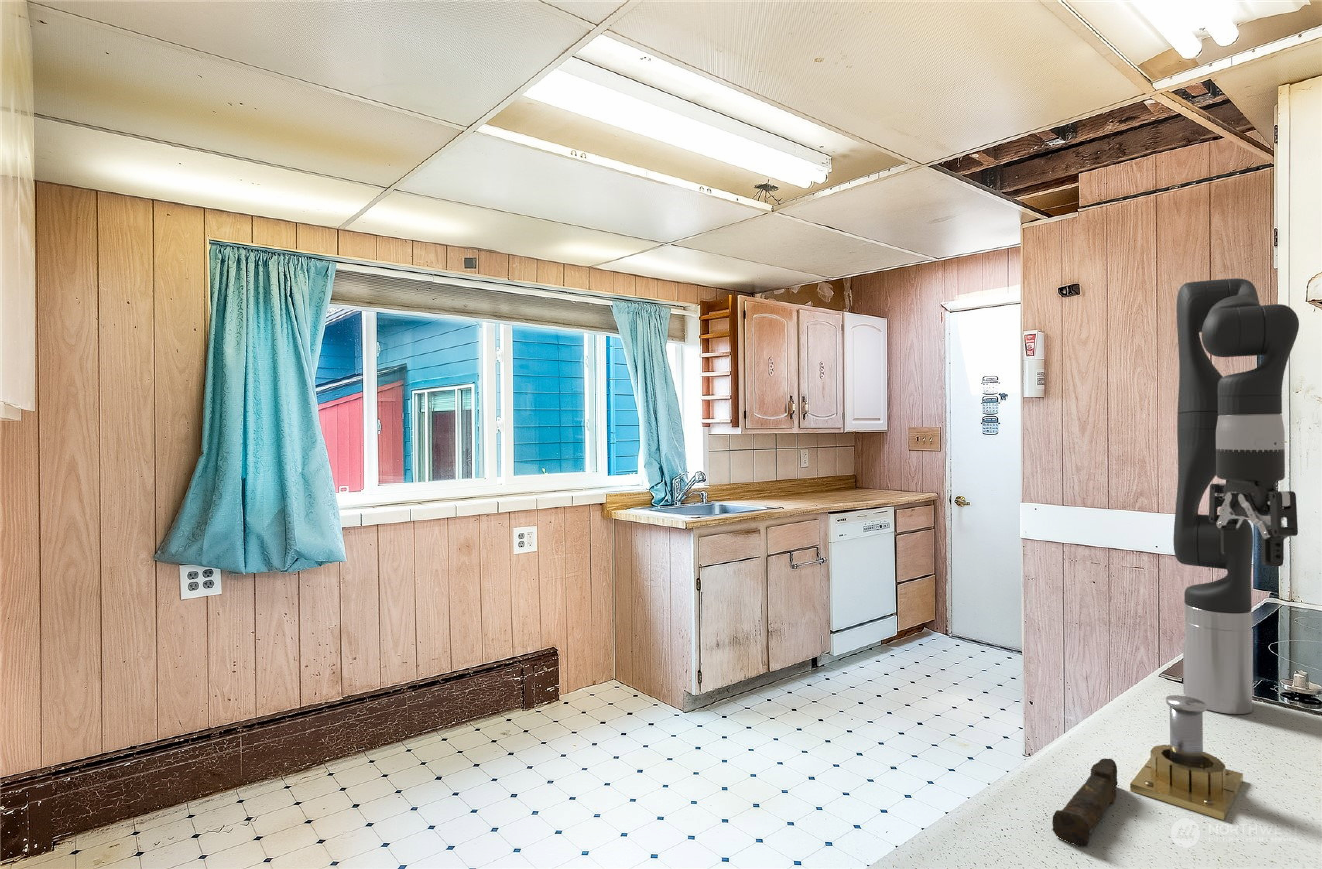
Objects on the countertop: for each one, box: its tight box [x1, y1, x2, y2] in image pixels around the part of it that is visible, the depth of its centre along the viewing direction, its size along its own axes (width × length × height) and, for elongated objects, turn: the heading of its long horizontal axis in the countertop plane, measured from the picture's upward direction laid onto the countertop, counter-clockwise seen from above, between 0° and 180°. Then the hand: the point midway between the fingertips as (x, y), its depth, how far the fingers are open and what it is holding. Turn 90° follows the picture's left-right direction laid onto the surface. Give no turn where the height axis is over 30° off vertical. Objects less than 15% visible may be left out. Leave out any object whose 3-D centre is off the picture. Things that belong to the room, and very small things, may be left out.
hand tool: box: [1051, 758, 1119, 848], centre depth 89 cm, size 19×4×5 cm, turn 131°
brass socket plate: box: [1129, 744, 1244, 821], centre depth 96 cm, size 14×10×4 cm
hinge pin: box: [1165, 694, 1207, 769], centre depth 96 cm, size 4×4×11 cm
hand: (1250, 559), depth 100 cm, fingers open, 8 cm apart
